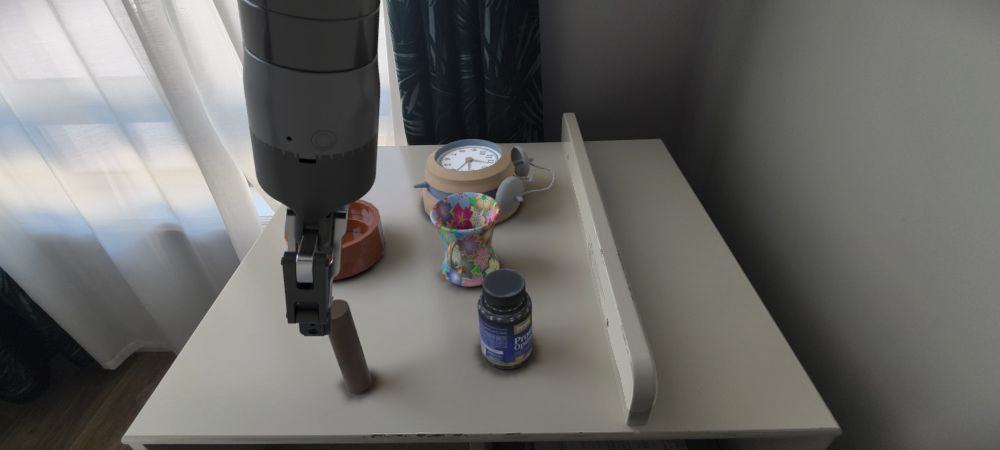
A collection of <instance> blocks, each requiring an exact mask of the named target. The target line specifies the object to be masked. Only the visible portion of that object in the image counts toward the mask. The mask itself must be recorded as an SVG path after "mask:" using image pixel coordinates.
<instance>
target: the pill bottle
mask: <svg viewBox="0 0 1000 450" xmlns="http://www.w3.org/2000/svg"><path fill="white" fill-rule="evenodd" d="M481 287H482V291H481V292H482V293H481V294H480V295H479V298H478V300H477V315H478V326H479V327H478V329H479V337H480V338H479V339H480V346H481V347H480V348H481V354H482V356H483V358H484V360H485V361H486V363H488V364H489V365H491V366H492V367H494V368H497V369H500V370H514V369H517V368H520V367H521V366H523V365H524V364H526V363H527V361H528V360H529V359H530V358H531V355H532V352H533V300H532V298H531V296H530V294H529V292H528V291H527V290H526V289H527V288H526V287H527V286H526V279H525V277H524V275H522V273H520V272H519V271H517V270H515V269H511V268H499V269H497V270H494V271H492V272H490V273H488V274H487V275H486V276H485V277H484V279H483V282H482V285H481Z"/></svg>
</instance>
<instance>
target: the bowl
mask: <svg viewBox="0 0 1000 450" xmlns="http://www.w3.org/2000/svg"><path fill="white" fill-rule="evenodd" d="M283 235H284V241H285V244H286V246H287V247H288V234H287V233H286V231H285V230H284V234H283ZM386 246H387V241H386V236H385V232H384V228H383V223H382V219H381V214H380V211H379V209H378V208H377V207H376V206H375V205H374V204H373V203H372V202H369V201H367V200H364V199H361V198H360V199H359V200H357V201H355V202H353V203H351V204H350V207H349V208H348V215H347V231H346V233H345V234H344V235H343V239H342V256H341V269H340V271H339V273H338V275H337V276H335V277H333V281H337V280H342V279H345V278H349V277H354V276H355V275H357V274H360V273H362V272H364V271H366V270H368V269H369V268H370V267H371V266H374V265H375V264H376V263H377V262H378V261H379V260H380V259H381V257H382V256H383V254H384V253H385V249H386ZM299 248H300V246H298V251H299ZM332 258H333V255H328V259H330V262H331V261H332Z"/></svg>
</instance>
